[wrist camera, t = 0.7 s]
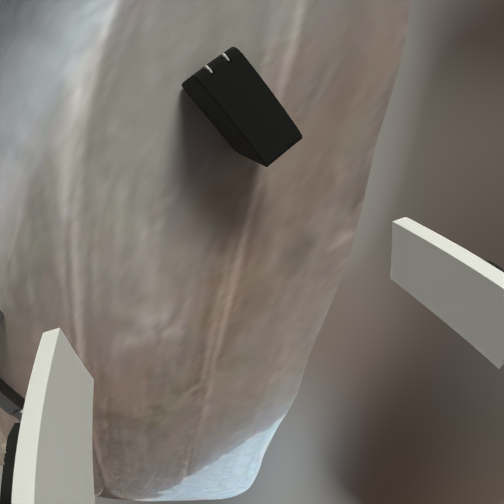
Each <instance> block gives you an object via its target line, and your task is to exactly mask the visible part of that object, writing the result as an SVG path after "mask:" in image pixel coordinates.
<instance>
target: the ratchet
mask: <svg viewBox="0 0 504 504" xmlns="http://www.w3.org/2000/svg"><path fill="white" fill-rule="evenodd" d="M24 404H25V401H24V398H22V397H21V396H20V395H19V394H17V393H16V392H15V391H14V390H13V389H12V388H10V387H9V386H8V385H7V384H6V383H5V382H4V381H3V380H1V379H0V407H1V408H2V409H3V410H5V411H6V412H7V413H8V414H10V415H13V416H14V417H16V418H17V419H18V420H20V421H21V419H22V413H23V408H24Z"/></svg>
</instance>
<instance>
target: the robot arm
mask: <svg viewBox="0 0 504 504" xmlns="http://www.w3.org/2000/svg"><path fill="white" fill-rule="evenodd" d="M390 279H392V280H393V281H394V282H396V283H397V284H398V285H399V286H401V287H402V288H403V289H405V290H406V291H407V292H408V293H410V294H411V295H412V296H414V297H415V298H416V299H417V300H418V301H420V302H421V303H422V304H424V305H425V306H426V307H427V308H428V309H430V310H431V311H432V312H433V313H435V314H436V315H437V316H438V317H440V318H441V319H442V320H443V321H444V322H445V323H447V324H448V325H449V326H450V327H451V328H453V329H454V330H455V331H456V332H457V333H459V334H460V335H461V336H462V337H463V338H464V339H466V340H467V341H468V342H469V343H470V344H471V345H473V346H474V347H475V348H476V349H477V350H478V351H480V352H481V353H482V354H483V355H484V356H485V357H486V358H488V359H489V360H490V361H491V362H492V363H493V364H494V365H495V366H497V367H498V368H499V369H500V368H501V367H502V366H503V365H504V270H502V268H500V267H499V266H497V265H495V264H494V263H492V262H490V261H486V260H484V259H481V258H479V257H477V256H476V255H474V254H472V253H471V252H469V251H467V250H466V249H464V248H462V247H460V246H458V245H457V244H455V243H453V242H452V241H450V240H448V239H446V238H444V237H443V236H441V235H439V234H437V233H435V232H434V231H432V230H430V229H428V228H426V227H424V226H422V225H420V224H419V223H416V222H415V221H413V220H411V219H409V218H407V217H405V218H401V219H398V220H395V221H393V228H392V257H391V274H390ZM93 388H94V379H93V378H92V377H91V375H90V374H89V372H88V371H87V369H86V368H85V366H84V365H83V363H82V362H81V360H80V359H79V357H78V356H77V354H76V353H75V351H74V350H73V348H72V347H71V345H70V343H69V342H68V340H67V339H66V337H65V335H64V334H63V332H62V330H61V329H60V328H57V329H54V330H50V331H47V332H44V333H43V335H42V338H41V341H40V345H39V348H38V351H37V355H36V359H35V362H34V366H33V370H32V374H31V378H30V382H29V386H28V390H27V394H26V399H25V404H24V408H23V413H22V419H21V423H15V424H14V426H13V428H12V430H11V432H10V434H9V436H8V440H7V445H6V453H5V458H4V463H5V465H4V466H3V474H2V483H1V495H0V504H95V497H94V482H93V457H92V414H93Z"/></svg>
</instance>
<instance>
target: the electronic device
mask: <svg viewBox="0 0 504 504" xmlns="http://www.w3.org/2000/svg"><path fill="white" fill-rule="evenodd" d="M182 87H183V88H184V90H185V91H186V92H187V94H188V95H189V96H190V97H191V98H192V99H193V101H194V102H195V103H196V104H197V105H198V106H199V108H200V109H201V110H202V111H203V112H204V114H205V115H206V116H207V117H208V118H209V120H210V121H211V122H212V123H213V124H214V126H215V127H216V128H217V129H218V130H219V132H220V133H221V134H222V135H223V136H224V138H225V139H226V140H227V141H228V143H229V144H230V145H231V146H232V147H233V149H234V150H235V151H236V152H238V153H239V154H241V155H243V156H245V157H247V158H249V159H251V160H253V161H255V162H257V163H259V164H262V165H264V166H266V167H268V166H269V165H270V164H271V163H272V162H274V161H275V160H276V159H277V158H278V157H280V156H281V155H282V154H283V153H285V152H286V151H287V150H288V149H289V148H291V147H292V146H293V145H294V144H296V143H297V142H298V141H299V140H300V139H302V135H301V133H300V131H299V130H298V128H297V127H296V125H295V124H294V122H293V121H292V120H291V118H290V117H289V115H288V114H287V112H286V111H285V110H284V108H283V107H282V105H281V104H280V103H279V101H278V100H277V99H276V97H275V96H274V94H273V93H272V92H271V90H270V89H269V88H268V86H267V85H266V84H265V82H264V81H263V80H262V78H261V77H260V76H259V74H258V73H257V72H256V70H255V69H254V68H253V67H252V65H251V64H250V63H249V61H248V60H247V59H246V58H245V56H244V55H243V54H242V53H241V52H240V51H239V50H238V49H237V48H235V47H231V48H230V49H228V50H227V51H225V52H224V53H222V54H221V55H220V56H218V57H217V58H215V59H214V60H213V61H211V62H210V63H208V64H207V65H206V66H204V67H203V68H202V69H200V70H199V71H198V72H196V73H195V74H194V75H192V76H191V77H190V78H188V79H187V80H186V81H185V82H183V83H182Z"/></svg>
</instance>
